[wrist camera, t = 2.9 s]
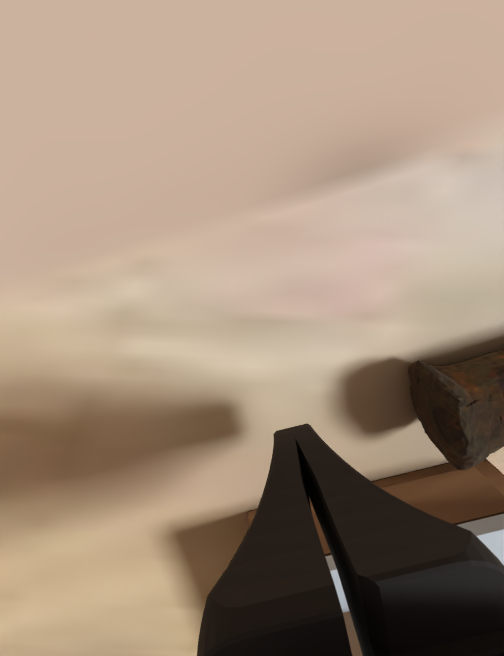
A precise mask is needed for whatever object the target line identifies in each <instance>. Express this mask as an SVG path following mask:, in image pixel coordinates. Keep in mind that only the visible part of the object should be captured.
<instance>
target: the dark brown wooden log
mask: <svg viewBox="0 0 504 656" xmlns="http://www.w3.org/2000/svg"><path fill="white" fill-rule="evenodd" d="M409 375H410V382H411V386H410V390H411V397H412V401H413V405H414V408H415V411H416V413H417V416H418V418H419V420H420V421H421V424H422V426H423V428H424V430H425V433H426V434H427V435H428V437H429V438H430V440H431V441H432V442H433V443H434V444H435V446H436V447H437V448H438V449H439V450H440V452H441V453H442V454H443V455H444V456H445V458H446V460H447V461H449V462H450V463H451V464H452V465H453V466H454V467H455V468H456V469H458V470H468V469H470V468H472V467H474V466H476V465H477V464H479V463H481V462H482V461H483V460H484V459H486V458H487V457H488V456H489V454H491V453H493V452H495V451H497V450H499V449H500V448H502V447H503V446H504V349H503V350H500V351H497V352H491V353H488V354H486V355H483V356H480V357H477V358H474V359H470V360H467V361H464V362H461V363H457V364H452V365H448V366H431V365H429V364H426V363H424V362H422V361H419V360H418V361H416V362H415V363H413V364H411V365H410V366H409Z"/></svg>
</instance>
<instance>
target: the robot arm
mask: <svg viewBox="0 0 504 656" xmlns="http://www.w3.org/2000/svg"><path fill="white" fill-rule="evenodd" d="M309 498H310V500H309ZM310 501H311V503H312V506H313V508H314V511H315V514H316V516H317V519H318V521H319V524H320V526H321V529H322V531H323V534H324V536H325V539H326V542H327V544H328V547H329V549H330V552H331V554H332V557H333V560H334V563H335V566H336V568H337V571H338V575H339V578H340V581H341V585H342V588H343V591H344V595H345V598H346V601H347V605H348V608H349V611H350V615H351V618H352V621H353V625H354V628H355V631H356V635H357V638H358V641H359V645H360V648H361V652H362V655H363V656H504V565H503V564H502V563H501V562H500V560H499V559H498V558H497V557H496V556H495V555H494V554H493V553H492V552H491V551H490V550H489V549H488V548H487V547H486V545H485V544H484V543H483V542H482V541H481V540H480V539H479V538H478V537H477V536H476V535H475V534H474V533H472V532H471V531H470V530H467V529H464V528H462V527H459V526H457V525H454V524H452V523H449V522H447V521H444V520H442V519H439V518H437V517H434V516H432V515H430V514H428V513H426V512H424V511H421V510H419V509H417V508H415V507H413V506H411V505H410V504H408V503H406V502H404V501H402V500H400V499H399V498H397V497H395V496H393V495H391V494H390V493H388V492H387V491H385V490H383V489H382V488H380V487H379V486H377V485H376V484H374V483H373V482H371V481H370V480H368V479H367V478H365V477H364V476H363V475H361V474H360V473H359V472H358V471H356V470H355V469H354V468H352V467H351V466H350V465H349V464H348V463H346V462H345V461H344V460H343V459H342V458H341V457H340V456H338V455H337V454H336V453H335V452H334V451H333V450H332V449H331V448H330V447H329V446H328V445H327V444H326V443H325V442H324V441H323V440H322V439H321V438H320V437H319V436H318V434H317V433H316V432H315V431H314V430H313V428H312V427H311V426H310V425H309V424H303V425H299V426H295V427H291V428H287V429H283V430H279V431H276V432H275V433H274V447H273V455H272V460H271V465H270V470H269V474H268V478H267V481H266V485H265V489H264V492H263V495H262V498H261V501H260V503H259V506H258V509H257V511H256V514H255V516H254V518H253V520H252V523H251V525H250V527H249V529H248V531H247V533H246V535H245V537H244V539H243V541H242V543H241V545H240V546H239V548H238V550H237V552H236V553H235V555H234V557H233V559H232V560H231V562H230V564H229V565H228V567H227V569H226V570H225V572H224V573H223V574H222V576H221V577H220V579H219V580H218V582H217V583H216V585H215V586H214V588H213V589H212V590H211V592H210V593H209V595H208V597H207V600H206V604H205V609H204V613H203V618H202V623H201V628H200V634H199V641H198V651H197V656H352V652H351V647H350V643H349V638H348V634H347V629H346V625H345V620H344V616H343V612H342V608H341V605H340V601H339V598H338V595H337V591H336V588H335V584H334V581H333V579H332V576H331V573H330V570H329V566H328V563H327V560H326V557H325V554H324V551H323V548H322V545H321V542H320V539H319V535H318V532H317V529H316V526H315V523H314V519H313V516H312V511H311V505H310Z"/></svg>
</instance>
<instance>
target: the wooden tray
mask: <svg viewBox="0 0 504 656" xmlns="http://www.w3.org/2000/svg"><path fill="white" fill-rule="evenodd" d="M373 483H374V484H376V485H377V486H379V487H380V488H382V489H383V490H385V491H387V492H388V493H390V494H391V495H393V496H395V497H397V498H399V499H400V500H402V501H404V502H406V503H408V504H410V505H411V506H413V507H415V508H417V509H419V510H421V511H424V512H426V513H428V514H430V515H432V516H434V517H437V518H439V519H442V520H444V521H447V522H449V523H452V524H454V525H459V524H463V523H467V522H471V521H476V520H480V519H484V518H488V517H492V516H496V515H501V514H504V475H503V474H502V473H501V472H500V471H499V470H498V469H497V468H496V467H495V466H493V465H492V464H491V463H490V462H489V461H488V460H487V459H484V460H483V461H482V462H481V463H479V464H477V465H476V466H474V467H472V468H470V469H468V470H458V469H456V468H455V467H454V466H453V465H452V464H451V463H448V464H444V465H440V466H435V467H431V468H427V469H423V470H419V471H415V472H411V473H406V474H402V475H398V476H394V477H390V478H386V479H382V480H377V481H373ZM309 500H310V498H309ZM310 505H311V511H312V516H313V519H314V523H315V526H316V529H317V532H318V535H319V539H320V542H321V545H322V548H323V551H324V554H325V556H329V555H332V554H331V552H330V549H329V547H328V544H327V542H326V539H325V536H324V534H323V531H322V529H321V526H320V524H319V521H318V519H317V516H316V514H315V511H314V508H313V506H312V503H311V501H310ZM256 511H257V510H253V511H249V512H248V519H249V527H250V525H251V523H252V520H253V518H254V516H255V514H256Z"/></svg>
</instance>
